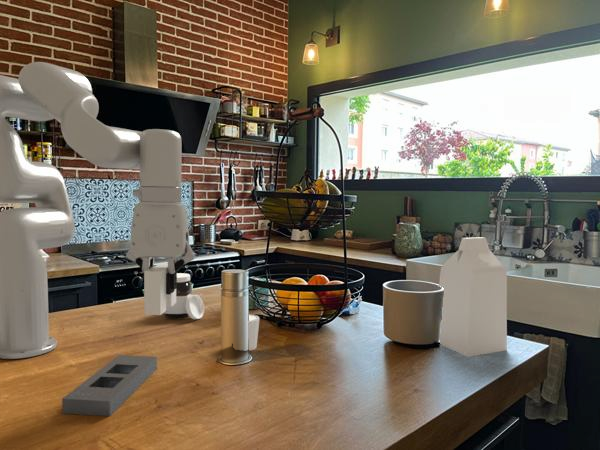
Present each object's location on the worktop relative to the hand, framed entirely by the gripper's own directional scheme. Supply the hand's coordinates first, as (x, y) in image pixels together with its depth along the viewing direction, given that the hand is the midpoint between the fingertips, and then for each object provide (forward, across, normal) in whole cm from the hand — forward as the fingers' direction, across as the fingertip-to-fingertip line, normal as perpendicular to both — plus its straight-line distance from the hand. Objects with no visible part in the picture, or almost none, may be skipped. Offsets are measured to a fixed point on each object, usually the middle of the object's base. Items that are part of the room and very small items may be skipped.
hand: (160, 291), depth 91 cm
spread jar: (+17, -8, +42) cm, 46 cm away
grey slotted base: (+17, -6, -6) cm, 19 cm away
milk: (+17, +66, +25) cm, 73 cm away
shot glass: (+17, +13, +19) cm, 29 cm away
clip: (+3, 0, 0) cm, 3 cm away
